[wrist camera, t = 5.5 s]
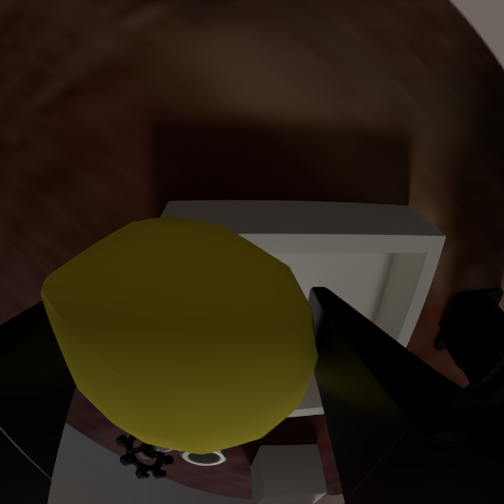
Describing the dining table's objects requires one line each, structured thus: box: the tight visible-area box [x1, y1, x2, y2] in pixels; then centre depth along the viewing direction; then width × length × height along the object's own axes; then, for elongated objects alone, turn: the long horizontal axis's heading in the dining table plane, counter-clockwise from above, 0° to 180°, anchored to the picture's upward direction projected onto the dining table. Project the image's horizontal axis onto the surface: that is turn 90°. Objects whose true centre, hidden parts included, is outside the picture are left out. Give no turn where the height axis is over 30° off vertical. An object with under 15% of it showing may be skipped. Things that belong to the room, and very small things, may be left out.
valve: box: [116, 434, 227, 479], centre depth 25 cm, size 7×7×12 cm
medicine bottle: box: [251, 444, 327, 504], centre depth 29 cm, size 7×7×12 cm
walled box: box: [160, 200, 446, 417], centre depth 20 cm, size 15×15×4 cm
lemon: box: [41, 216, 318, 455], centre depth 7 cm, size 7×5×5 cm
